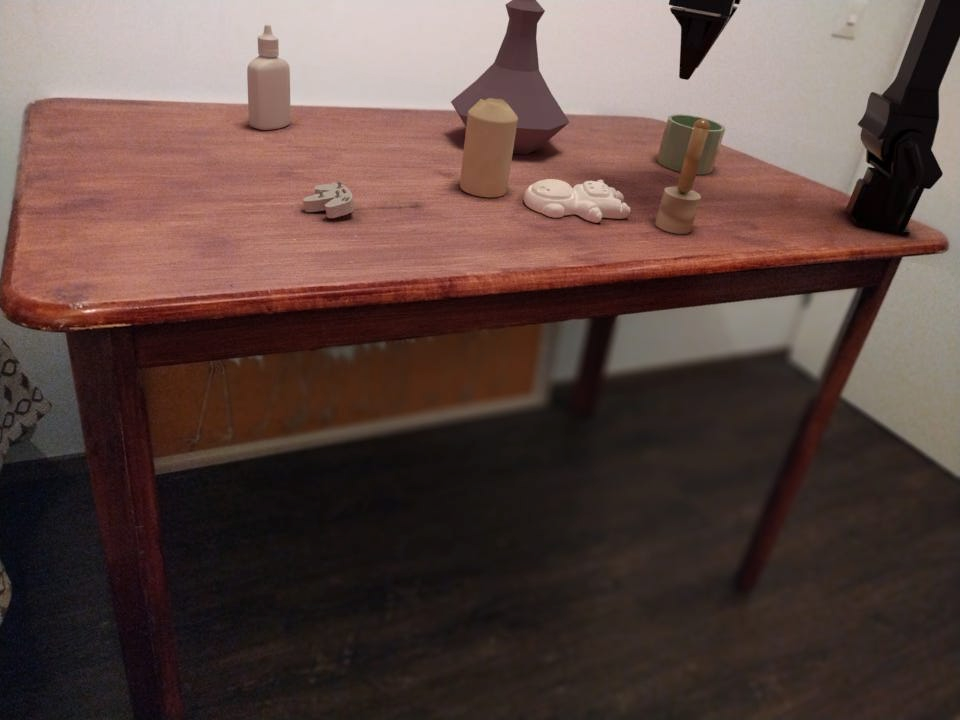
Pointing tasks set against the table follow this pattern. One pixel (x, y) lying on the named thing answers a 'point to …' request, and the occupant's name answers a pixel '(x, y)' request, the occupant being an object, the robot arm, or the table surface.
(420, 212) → the table surface
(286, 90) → the eye dropper bottle
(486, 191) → the candle
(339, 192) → the game controller
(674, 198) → the brush
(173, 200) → the table surface
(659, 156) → the scrub cup
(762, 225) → the table surface
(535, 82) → the purple faceted vase
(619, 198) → the astronaut figurine
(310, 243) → the table surface
